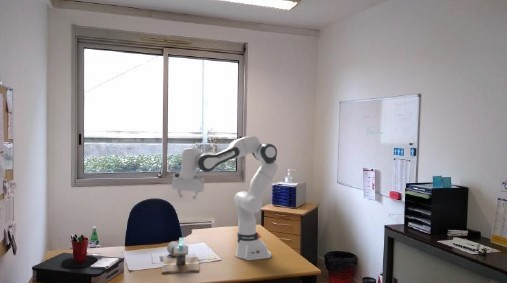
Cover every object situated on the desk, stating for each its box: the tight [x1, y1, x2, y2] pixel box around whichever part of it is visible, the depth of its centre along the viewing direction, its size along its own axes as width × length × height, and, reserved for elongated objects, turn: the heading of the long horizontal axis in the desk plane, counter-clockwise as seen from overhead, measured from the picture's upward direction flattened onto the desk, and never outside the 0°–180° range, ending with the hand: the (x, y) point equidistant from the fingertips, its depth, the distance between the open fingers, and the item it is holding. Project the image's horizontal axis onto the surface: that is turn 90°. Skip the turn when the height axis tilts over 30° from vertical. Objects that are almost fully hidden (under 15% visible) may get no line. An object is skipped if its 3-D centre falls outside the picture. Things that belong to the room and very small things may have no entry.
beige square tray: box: [161, 255, 200, 275], centre depth 210 cm, size 20×20×7 cm
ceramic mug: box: [166, 240, 179, 258], centre depth 228 cm, size 11×8×8 cm
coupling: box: [174, 237, 189, 256], centre depth 209 cm, size 8×15×7 cm, turn 10°
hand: (187, 198), depth 218 cm, fingers open, 8 cm apart
